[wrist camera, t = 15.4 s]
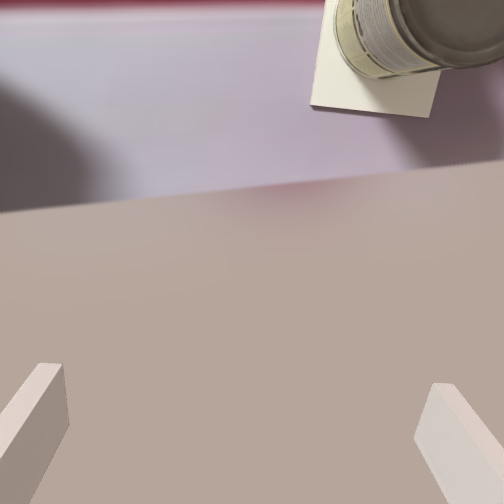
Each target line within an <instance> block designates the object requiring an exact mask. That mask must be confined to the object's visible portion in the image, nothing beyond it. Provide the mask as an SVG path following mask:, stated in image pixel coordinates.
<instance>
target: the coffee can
mask: <svg viewBox="0 0 504 504" xmlns="http://www.w3.org/2000/svg"><path fill="white" fill-rule="evenodd" d="M333 31H334V37H335V41H336V45H337V47H338V50H339V52H340V54H341V56H342V57H343V59H344V60H345V62H346V63H347V64H348V65H349V66H350V67H351V68H352V69H353V70H354V71H355V72H357V73H359V74H360V75H362V76H364V77H367V78H370V79H374V80H390V79H394V78H398V77H402V76H408V75H415V74H422V73H427V72H433V71H439V70H446V69H452V68H455V69H464V68H473V67H479V66H483V65H487V64H490V63H493V62H496V61H498V60H500V59H502V58H504V0H337V1H336V4H335V9H334V17H333Z"/></svg>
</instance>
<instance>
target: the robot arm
mask: <svg viewBox="0 0 504 504" xmlns="http://www.w3.org/2000/svg"><path fill="white" fill-rule="evenodd" d="M68 426H69V418H68V409H67V399H66V390H65V381H64V371H63V364H57V363H38V365H37V366H36V368H35V369H34V370H33V371H32V373H31V374H30V375H29V377H28V378H27V379H26V381H25V382H24V383H23V385H22V386H21V388H20V389H19V390H18V392H17V393H16V394H15V395H14V397H13V398H12V399H11V401H10V402H9V404H8V405H7V406H6V408H5V409H4V410H3V412H2V413H1V414H0V504H29V503H30V501H31V499H32V497H33V495H34V493H35V491H36V489H37V487H38V485H39V483H40V481H41V479H42V477H43V475H44V473H45V472H46V470H47V468H48V466H49V464H50V462H51V460H52V458H53V456H54V454H55V452H56V450H57V448H58V446H59V444H60V442H61V440H62V438H63V436H64V434H65V432H66V431H67V429H68ZM414 440H415V442H416V444H417V446H418V448H419V450H420V452H421V454H422V455H423V457H424V459H425V461H426V463H427V465H428V467H429V468H430V470H431V472H432V474H433V476H434V478H435V480H436V482H437V483H438V485H439V487H440V489H441V491H442V493H443V495H444V497H445V498H446V500H447V502H448V504H504V449H503V447H502V446H501V445H500V444H499V442H498V441H497V440H496V438H495V437H494V436H493V435H492V434H491V432H490V431H489V429H488V428H487V427H486V426H485V424H484V423H483V422H482V420H481V419H480V418H479V417H478V415H477V414H476V413H475V411H474V410H473V409H472V408H471V407H470V405H469V404H468V402H467V401H466V400H465V399H464V397H463V396H462V395H461V394H460V392H459V391H458V390H457V388H456V387H455V386H454V385H453V384H445V383H433V385H432V388H431V390H430V393H429V396H428V399H427V402H426V405H425V408H424V410H423V413H422V416H421V418H420V421H419V424H418V427H417V430H416V432H415V435H414Z"/></svg>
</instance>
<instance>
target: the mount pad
mask: <svg viewBox="0 0 504 504" xmlns="http://www.w3.org/2000/svg"><path fill="white" fill-rule="evenodd" d="M336 1H337V0H325V6H324V13H323V19H322V26H321V33H320V39H319V46H318V53H317V60H316V66H315V73H314V80H313V87H312V93H311V100H310V105H316V106H325V107H334V108H343V109H352V110H361V111H370V112H379V113H388V114H397V115H406V116H415V117H424V118H429V115H430V111H431V107H432V104H433V100H434V96H435V92H436V88H437V85H438V81H439V77H440V73H441V70H439V71H433V72H427V73H422V74H415V75H408V76H402V77H398V78H394V79H390V80H374V79H370V78H367V77H364V76H362V75H360V74H359V73H357V72H355V71H354V70H353V69H352V68H351V67H350V66H349V65H348V64H347V63H346V62H345V60H344V59H343V57H342V56H341V54H340V52H339V50H338V47H337V45H336V41H335V37H334V31H333V17H334V9H335V4H336Z"/></svg>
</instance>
